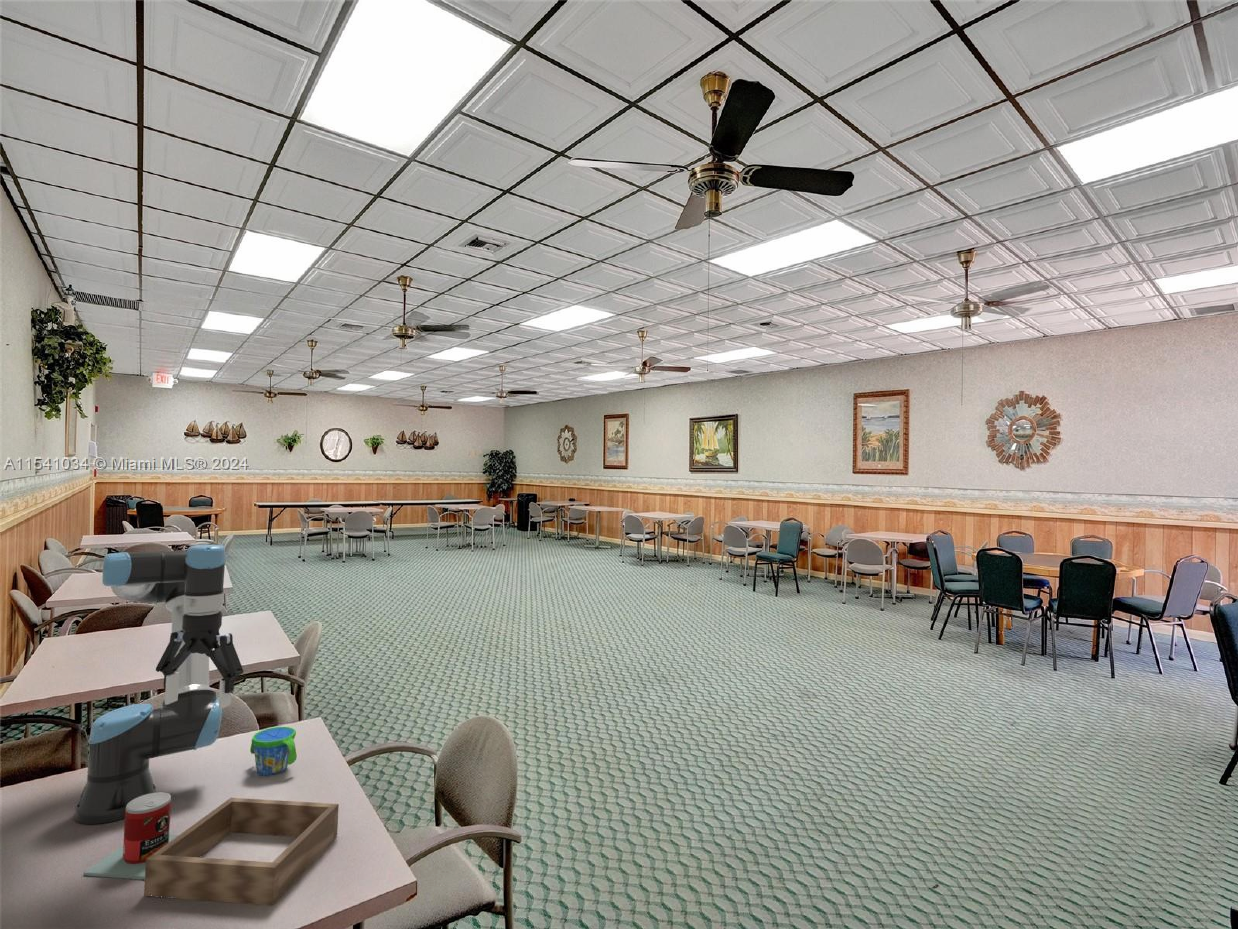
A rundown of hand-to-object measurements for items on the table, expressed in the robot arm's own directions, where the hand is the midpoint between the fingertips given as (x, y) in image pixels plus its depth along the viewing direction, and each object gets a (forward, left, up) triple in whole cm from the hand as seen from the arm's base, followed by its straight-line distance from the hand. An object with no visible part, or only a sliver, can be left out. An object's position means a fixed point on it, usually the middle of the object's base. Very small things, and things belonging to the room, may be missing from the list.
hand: (197, 704), depth 136 cm
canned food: (-3, -9, -29) cm, 30 cm away
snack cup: (-1, +30, -29) cm, 42 cm away
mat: (-3, -9, -29) cm, 30 cm away
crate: (+20, -9, -29) cm, 36 cm away
